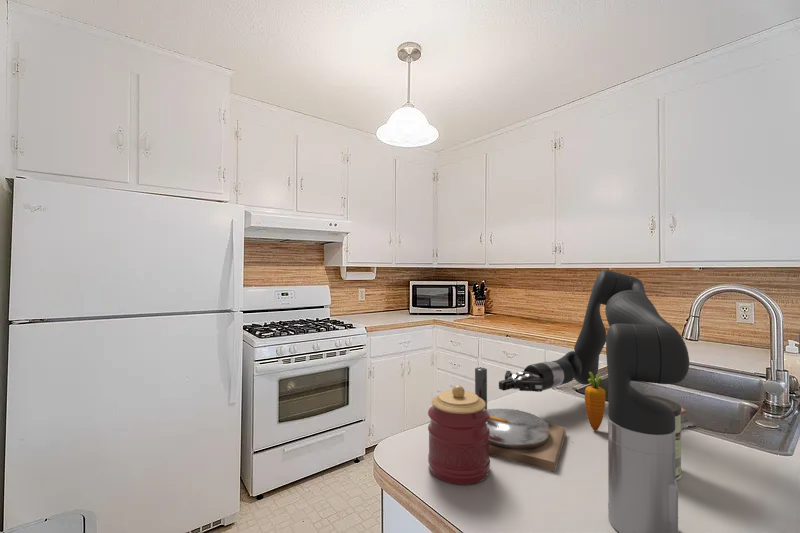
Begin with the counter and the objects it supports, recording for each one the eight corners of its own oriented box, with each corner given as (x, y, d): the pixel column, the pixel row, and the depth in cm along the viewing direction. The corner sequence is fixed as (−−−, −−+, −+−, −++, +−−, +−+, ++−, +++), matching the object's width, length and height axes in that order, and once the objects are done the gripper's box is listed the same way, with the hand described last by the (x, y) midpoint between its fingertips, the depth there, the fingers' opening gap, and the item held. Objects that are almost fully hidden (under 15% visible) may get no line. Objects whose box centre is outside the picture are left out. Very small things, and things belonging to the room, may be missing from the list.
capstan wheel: (557, 426, 93) (556, 371, 93) (537, 457, 78) (536, 391, 78) (489, 410, 103) (488, 360, 103) (460, 434, 88) (460, 376, 88)
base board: (565, 435, 93) (565, 426, 93) (554, 471, 76) (554, 460, 76) (477, 416, 104) (477, 408, 104) (451, 445, 88) (451, 435, 88)
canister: (415, 466, 79) (415, 384, 79) (455, 447, 87) (455, 373, 87) (462, 495, 69) (461, 401, 69) (502, 470, 77) (502, 386, 77)
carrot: (609, 436, 92) (608, 376, 92) (587, 434, 93) (587, 375, 93) (602, 427, 97) (602, 371, 97) (582, 426, 98) (581, 370, 98)
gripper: (525, 358, 113) (483, 366, 104) (563, 368, 102) (519, 378, 93) (525, 382, 113) (483, 392, 105) (563, 395, 102) (520, 408, 93)
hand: (500, 386), depth 99 cm, fingers closed
